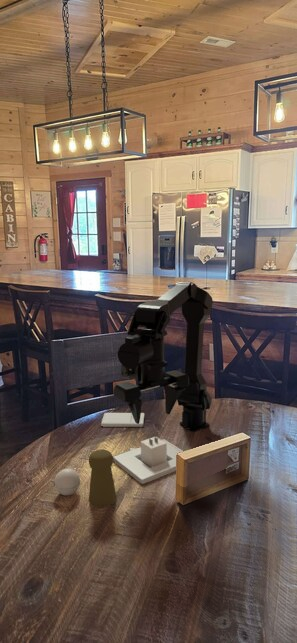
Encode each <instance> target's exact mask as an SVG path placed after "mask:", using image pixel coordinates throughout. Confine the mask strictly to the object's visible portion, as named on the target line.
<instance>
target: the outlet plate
mask: <svg viewBox="0 0 297 643" xmlns="http://www.w3.org/2000/svg"><path fill="white" fill-rule="evenodd" d="M161 440H162V441H164V442H165V443H167V462H165V463H162V464H159V465H157V466H154V467H150V466H149V465H147V464H146V463H145V462H143V461H142V460H141V446H139V447H137V448H134V450H131V451H129V450H127V451H128V452H126V451H124V452H125V453H123V452H121V453H122V454H120V453H118V454H119V455H117V454H116V455H117V456H114V455H113V456H114V457H113V463H115V464H116V465H117V466H118V467H120V468H121V469H123V471H125V472H126V473H127V474H128V475H129V476H131V477H132V478H133V479H135V481H137V482H138V483H139V484H140V485H143V484H146V483H149V482H151V481H152V482H153V481H154V480H156V479H159V478H161V477H164V476H166V475H168V474H171V473H173V472H176V471H177V470H176V455H177V453H179V452H183V451H184V450H182V449H180V448H179V447H177V446H176V445H174V444H173V443H171V442H169V441H168V440H167V439H164V438H162V439H161Z"/></svg>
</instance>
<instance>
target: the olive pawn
mask: <svg viewBox="0 0 297 643" xmlns="http://www.w3.org/2000/svg"><path fill="white" fill-rule="evenodd" d="M113 456H114V455H113V453H111V451H109V450H107V449H104V448H103V449H102V448H101V449H96V450H93V451H92V452H91V453H89V456H88V465H89V467H90V468H91V471H90V481H89V483H90V484H89V492H88V493H89V494H88V502H89V504H90V506H93V507H95V508H106V507H107V508H108V507H109V506H111V505H113V504H115V502H117V492H116V486H115V481H114V478H113V471H112V466H113V463H114V462H113Z"/></svg>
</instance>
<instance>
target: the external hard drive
mask: <svg viewBox="0 0 297 643" xmlns="http://www.w3.org/2000/svg"><path fill="white" fill-rule="evenodd" d="M144 421H145V413H144V412H141V415H140V422H139V424H137V423H136V422H135V420H134V418H133V415H132V413H131V412H104V414H103V417H102V420H101V424H100V426H103V427H104V428H105V427H106V428H107V427H108V428H122V427H125V428H126V427H127V428H130V427H131V428H132V427H133V428H134V427H135V428H139V427H140V428H143V427H144ZM103 427H102V428H103Z"/></svg>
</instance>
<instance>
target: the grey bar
mask: <svg viewBox="0 0 297 643" xmlns="http://www.w3.org/2000/svg"><path fill="white" fill-rule="evenodd" d="M134 449H135V448H134V447H131V448H129V449H128V450H127V451H124V452H121V453H118V454H115V455H112V456H113V457H114V456H117V455H119V454H122V453H125V452H128V451H131V450H134Z"/></svg>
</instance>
